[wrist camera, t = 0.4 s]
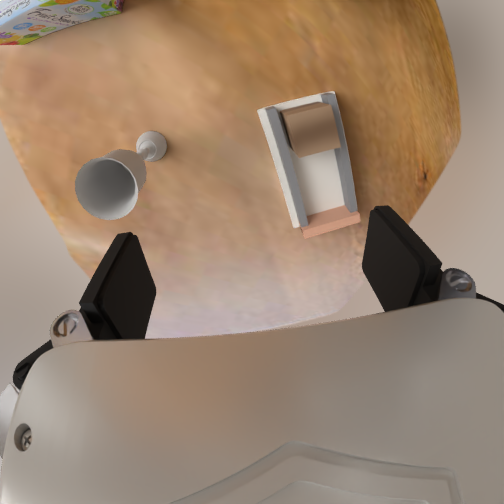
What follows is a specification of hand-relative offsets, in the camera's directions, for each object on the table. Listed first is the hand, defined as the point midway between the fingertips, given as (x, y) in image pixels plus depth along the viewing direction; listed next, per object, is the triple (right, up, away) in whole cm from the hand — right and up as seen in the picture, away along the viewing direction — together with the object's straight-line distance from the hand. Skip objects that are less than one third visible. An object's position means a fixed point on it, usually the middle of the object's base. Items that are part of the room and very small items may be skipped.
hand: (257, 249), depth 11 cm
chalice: (-16, +16, +28) cm, 36 cm away
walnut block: (+7, +19, +27) cm, 33 cm away
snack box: (-30, +38, +12) cm, 50 cm away
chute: (+9, +14, +31) cm, 36 cm away
